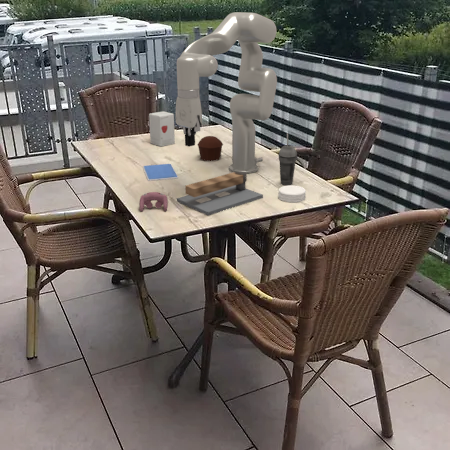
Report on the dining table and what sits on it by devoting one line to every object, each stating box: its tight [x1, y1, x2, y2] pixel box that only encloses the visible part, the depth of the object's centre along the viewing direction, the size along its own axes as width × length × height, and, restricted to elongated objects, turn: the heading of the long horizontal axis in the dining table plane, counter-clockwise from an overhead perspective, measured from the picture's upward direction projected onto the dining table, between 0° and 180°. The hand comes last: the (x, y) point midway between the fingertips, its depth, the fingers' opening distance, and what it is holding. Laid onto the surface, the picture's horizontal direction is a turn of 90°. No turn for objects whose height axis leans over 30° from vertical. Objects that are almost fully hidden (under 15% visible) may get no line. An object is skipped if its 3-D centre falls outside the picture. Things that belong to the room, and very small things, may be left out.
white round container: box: [277, 184, 307, 203], centre depth 204 cm, size 10×10×4 cm
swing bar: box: [184, 171, 248, 197], centre depth 201 cm, size 26×5×3 cm, turn 131°
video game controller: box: [138, 191, 169, 212], centre depth 194 cm, size 10×5×7 cm, turn 93°
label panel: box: [176, 182, 264, 216], centre depth 202 cm, size 26×18×4 cm
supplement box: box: [148, 110, 176, 147], centre depth 273 cm, size 9×9×15 cm
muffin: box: [197, 135, 224, 162], centre depth 249 cm, size 12×11×10 cm
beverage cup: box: [278, 132, 298, 186], centre depth 215 cm, size 7×7×20 cm
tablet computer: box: [142, 163, 179, 182], centre depth 232 cm, size 19×13×1 cm, turn 14°
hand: (190, 145), depth 199 cm, fingers closed
